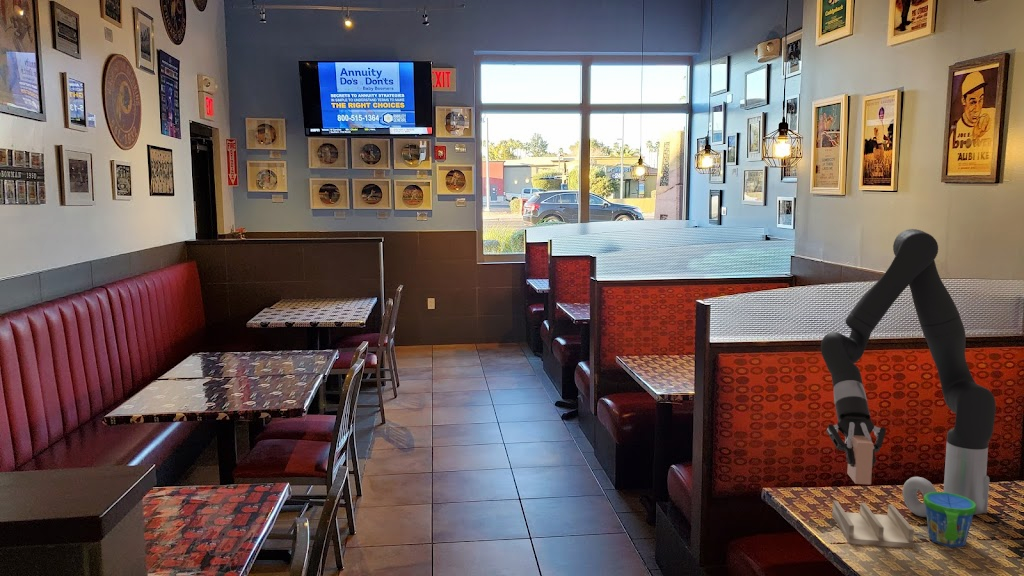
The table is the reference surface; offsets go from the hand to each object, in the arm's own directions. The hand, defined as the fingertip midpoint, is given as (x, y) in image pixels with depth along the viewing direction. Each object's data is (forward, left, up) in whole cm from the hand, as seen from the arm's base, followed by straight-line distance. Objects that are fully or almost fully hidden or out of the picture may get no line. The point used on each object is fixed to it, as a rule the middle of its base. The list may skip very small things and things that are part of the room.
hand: (862, 465), depth 179 cm
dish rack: (-3, -2, -17) cm, 17 cm away
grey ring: (-18, -14, -17) cm, 29 cm away
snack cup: (-19, +1, -17) cm, 26 cm away
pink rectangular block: (0, -2, -4) cm, 5 cm away
